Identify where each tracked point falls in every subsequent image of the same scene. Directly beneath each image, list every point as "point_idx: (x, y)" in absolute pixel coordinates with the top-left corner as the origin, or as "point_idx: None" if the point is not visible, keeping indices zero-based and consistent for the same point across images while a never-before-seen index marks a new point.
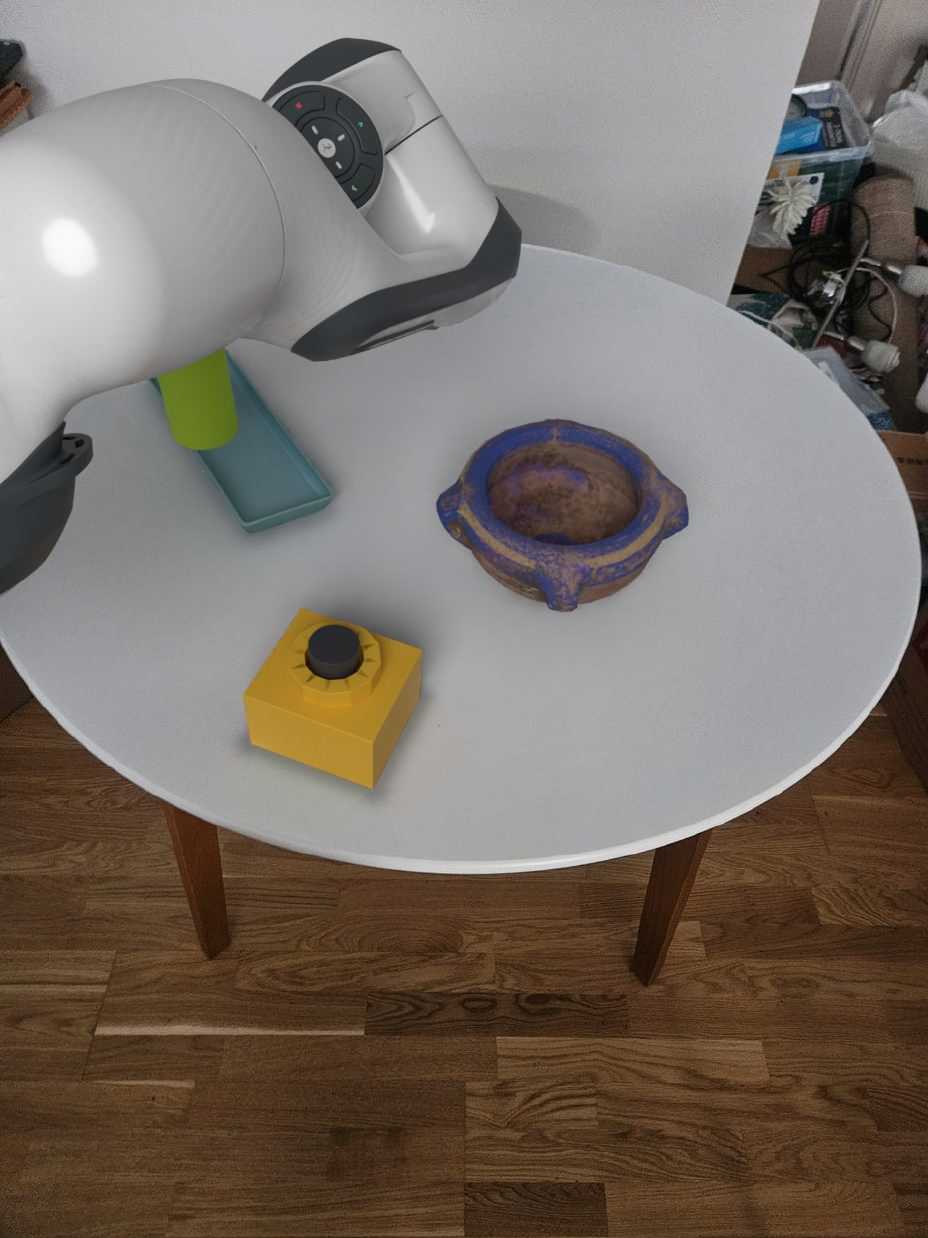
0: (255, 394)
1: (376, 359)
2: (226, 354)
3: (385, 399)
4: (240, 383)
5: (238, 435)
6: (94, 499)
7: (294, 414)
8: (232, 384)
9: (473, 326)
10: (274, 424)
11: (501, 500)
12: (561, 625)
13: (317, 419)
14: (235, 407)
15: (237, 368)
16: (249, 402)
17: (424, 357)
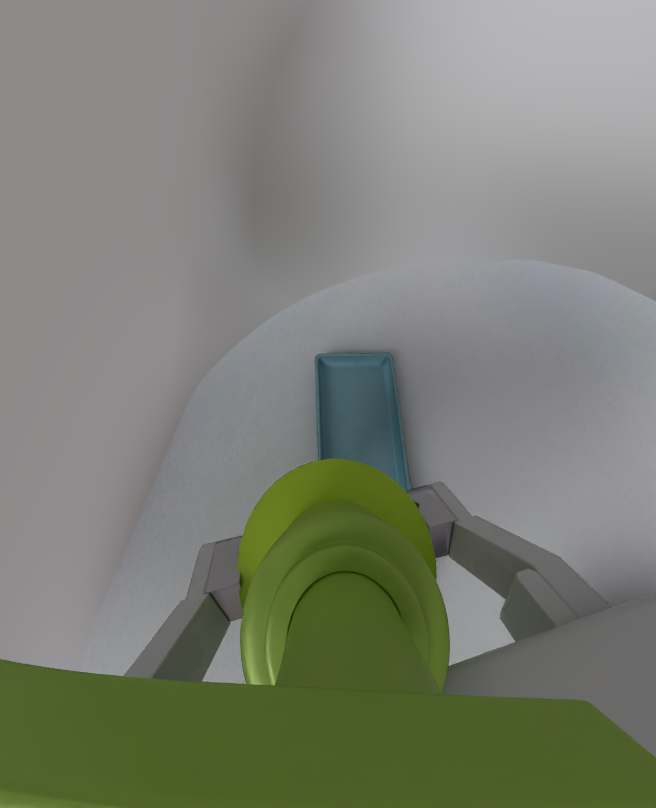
0: (398, 426)
1: (512, 404)
2: (390, 362)
3: (507, 461)
4: (390, 399)
5: (366, 463)
6: (224, 488)
7: (422, 448)
8: (383, 393)
9: (610, 394)
10: (402, 473)
11: None
12: None
13: (440, 463)
14: (376, 424)
15: (393, 385)
16: (389, 423)
17: (556, 418)
